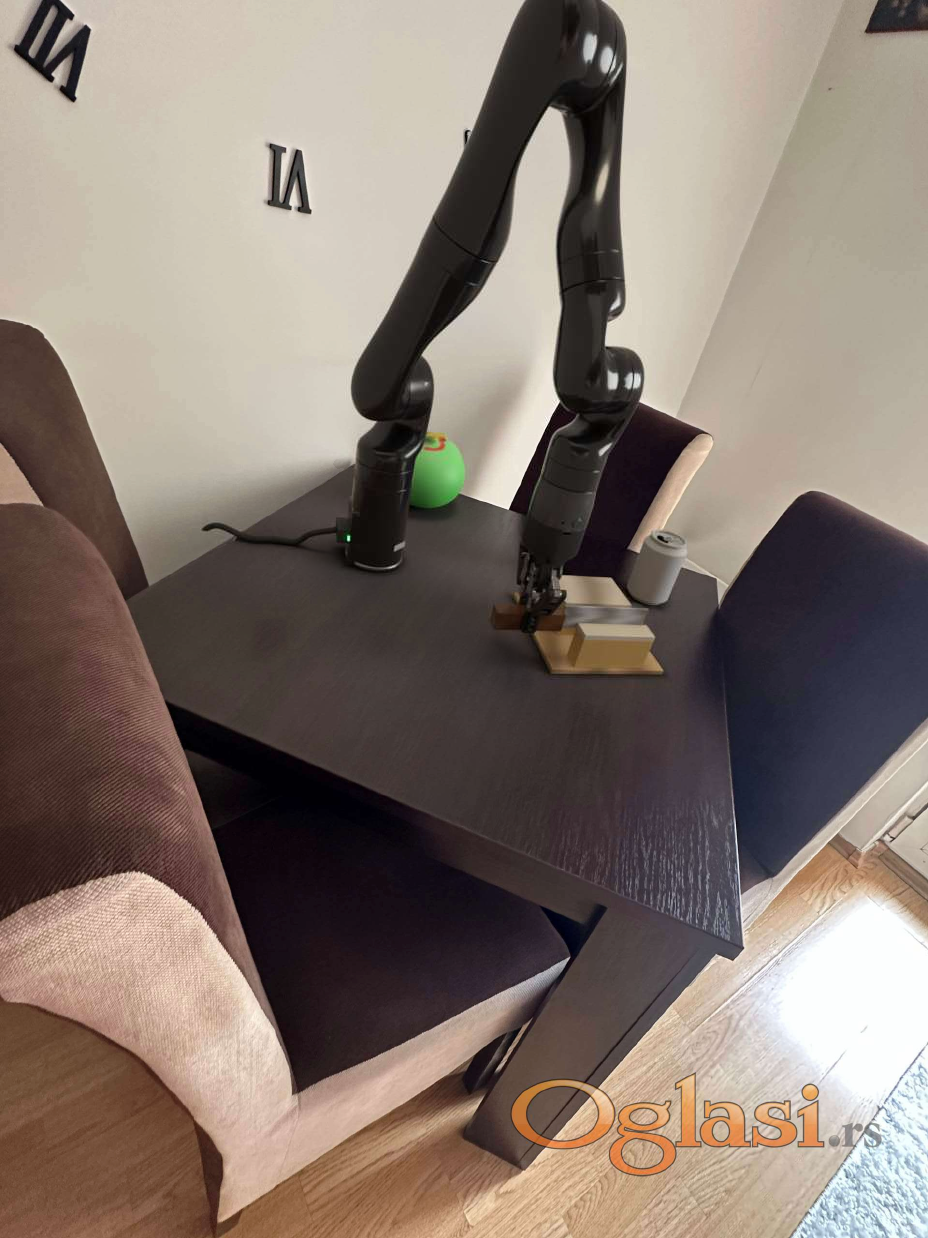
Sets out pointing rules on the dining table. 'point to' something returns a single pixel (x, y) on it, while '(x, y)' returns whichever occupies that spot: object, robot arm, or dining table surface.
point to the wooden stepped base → (558, 642)
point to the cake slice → (610, 645)
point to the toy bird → (437, 472)
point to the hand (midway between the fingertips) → (524, 625)
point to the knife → (566, 616)
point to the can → (657, 567)
